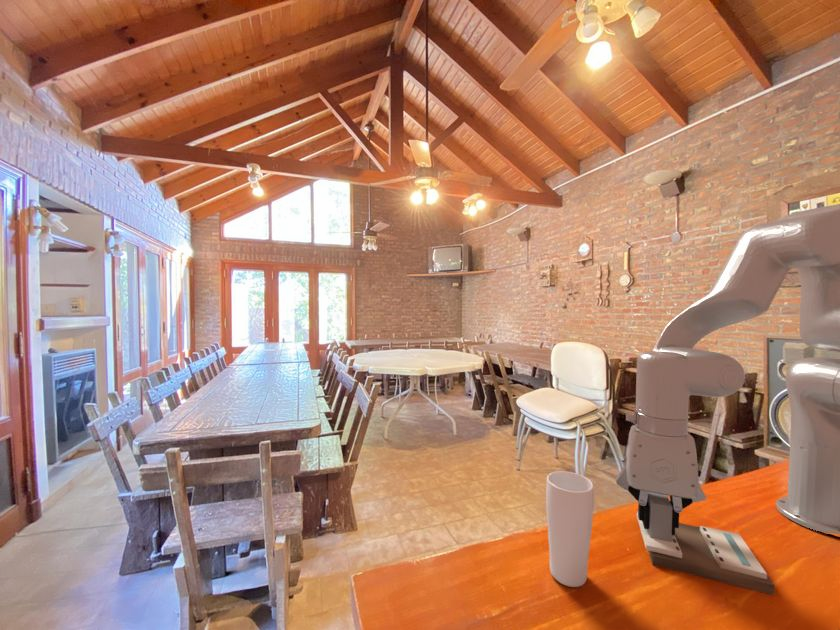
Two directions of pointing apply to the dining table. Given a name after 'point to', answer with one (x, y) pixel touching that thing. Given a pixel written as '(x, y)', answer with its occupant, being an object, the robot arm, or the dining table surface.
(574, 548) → the drinking glass
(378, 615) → the dining table surface
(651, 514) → the stub
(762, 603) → the dining table surface
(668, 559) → the board
